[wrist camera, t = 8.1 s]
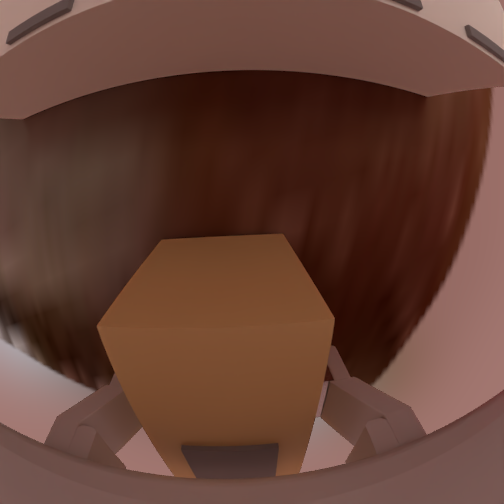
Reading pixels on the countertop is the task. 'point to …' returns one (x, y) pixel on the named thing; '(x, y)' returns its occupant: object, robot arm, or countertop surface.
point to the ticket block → (243, 44)
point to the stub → (222, 354)
